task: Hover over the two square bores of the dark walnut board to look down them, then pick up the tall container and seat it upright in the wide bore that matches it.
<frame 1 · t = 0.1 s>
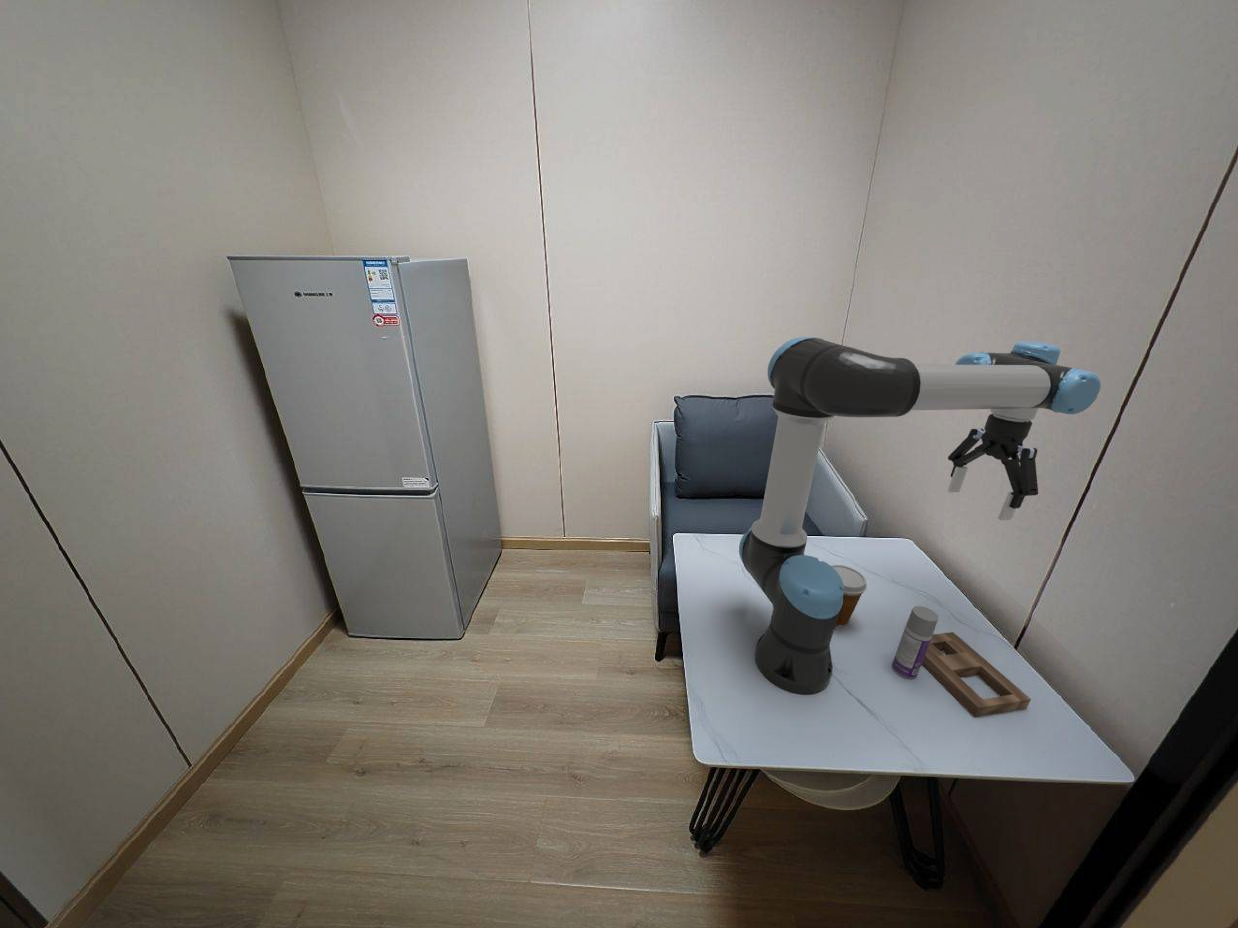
hand: (977, 504, 108), 28 cm above the table, fingers open, 13 cm apart
container: (903, 670, 98), on the table
disposable coffee cup: (833, 617, 112), on the table
socket board: (960, 675, 97), on the table
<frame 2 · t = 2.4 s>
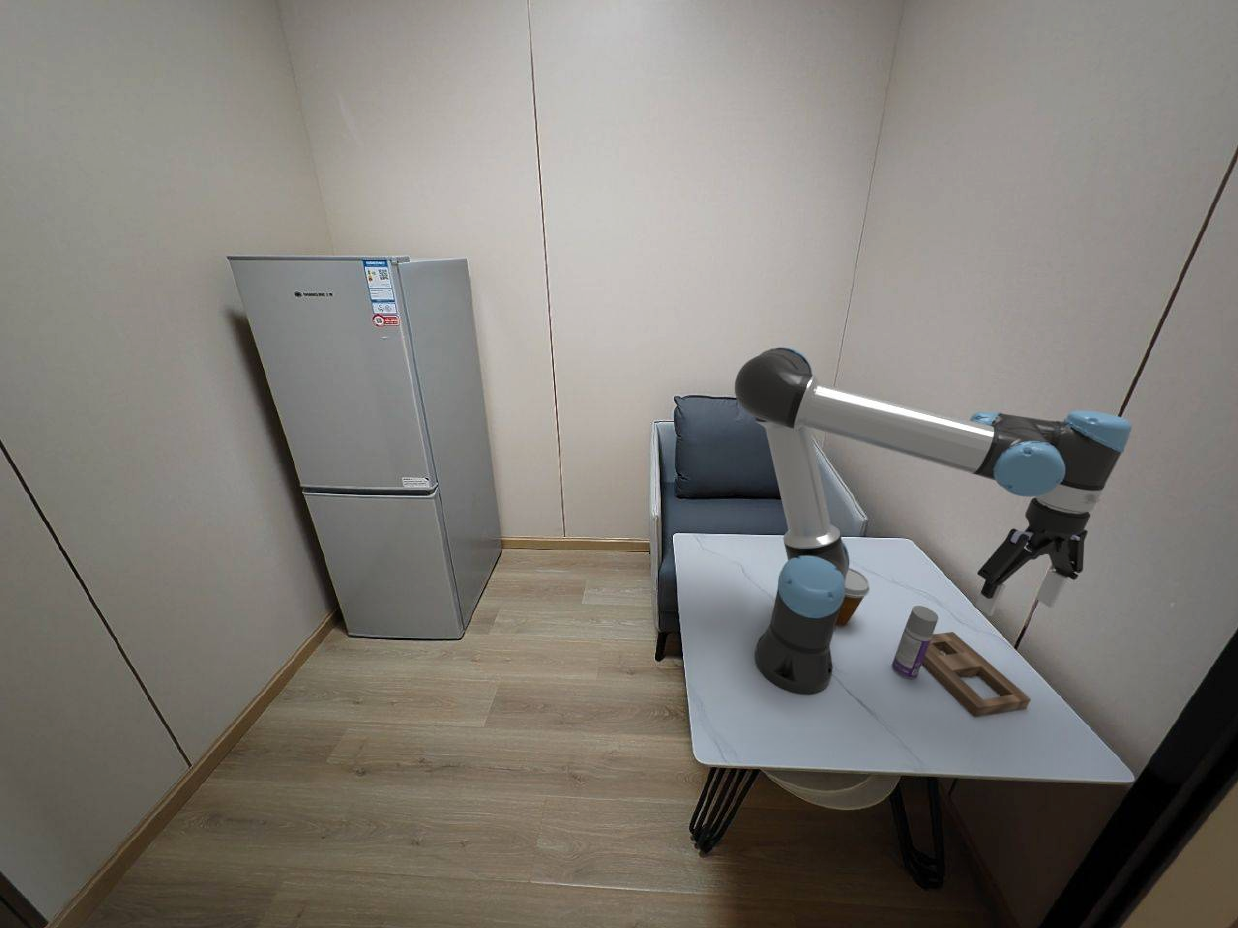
hand: (1014, 606, 86), 21 cm above the table, fingers open, 13 cm apart
disposable coffee cup: (833, 617, 112), on the table, touching arm
everything else where it was.
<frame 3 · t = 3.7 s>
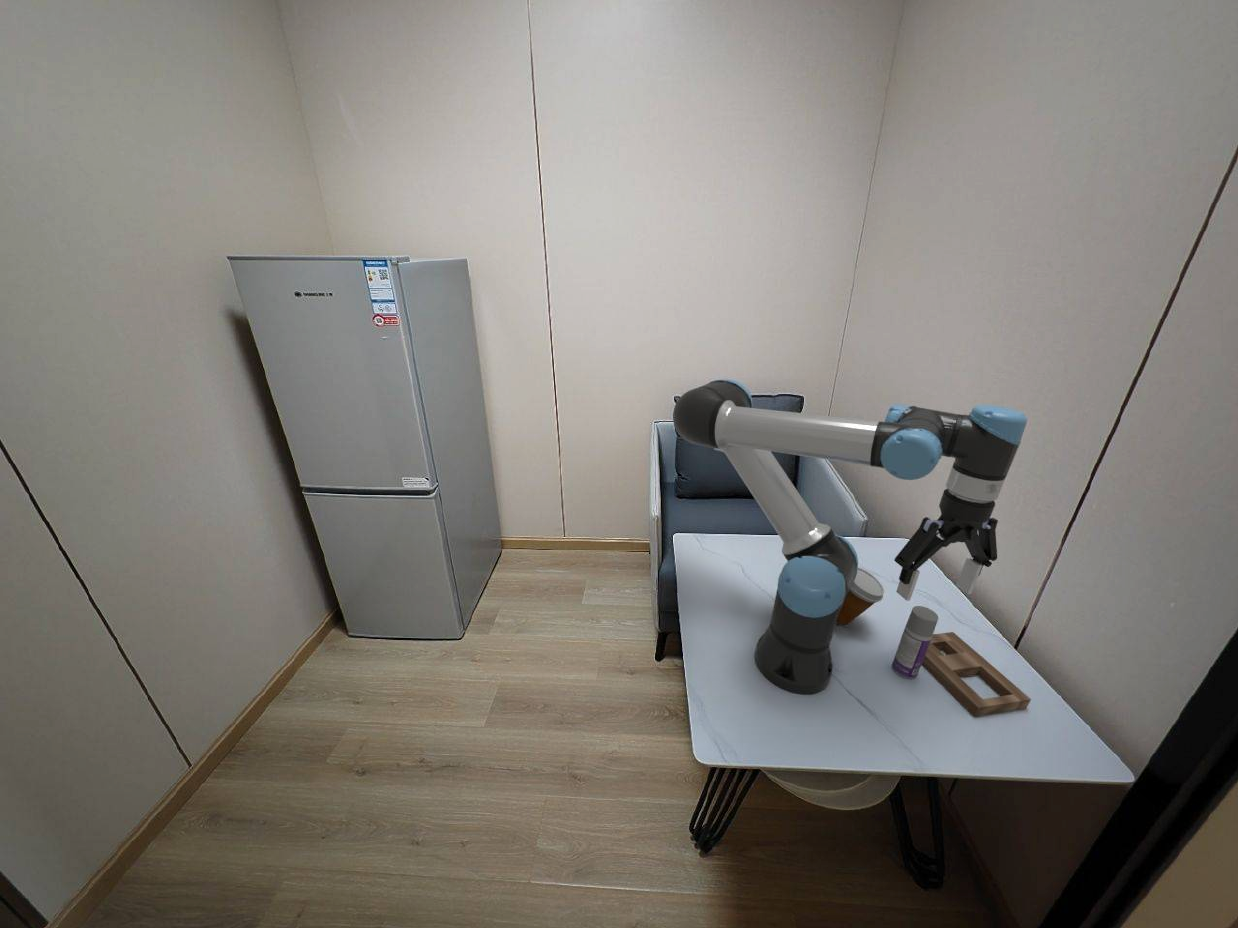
hand: (933, 592, 90), 20 cm above the table, fingers open, 13 cm apart
disposable coffee cup: (835, 615, 112), point 1 cm above the table, touching arm
everything else where it was.
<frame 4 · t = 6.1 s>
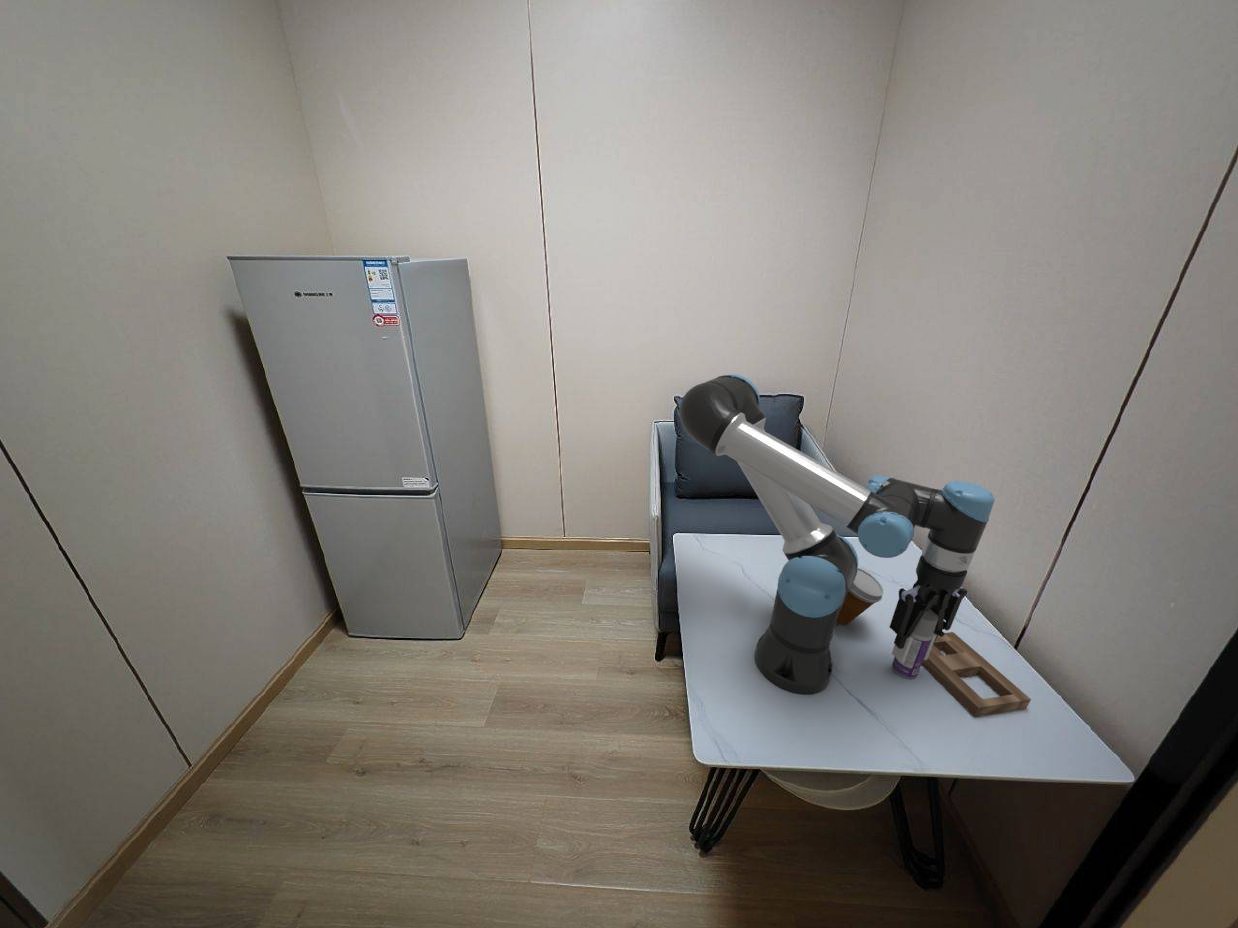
hand: (909, 656, 96), 4 cm above the table, fingers closed on container, 5 cm apart
container: (903, 670, 98), on the table, touching gripper
everything else where it was.
when the fingers open (5 cm above the table, at t = 11.9 s): container stays where it is, resting in socket board.
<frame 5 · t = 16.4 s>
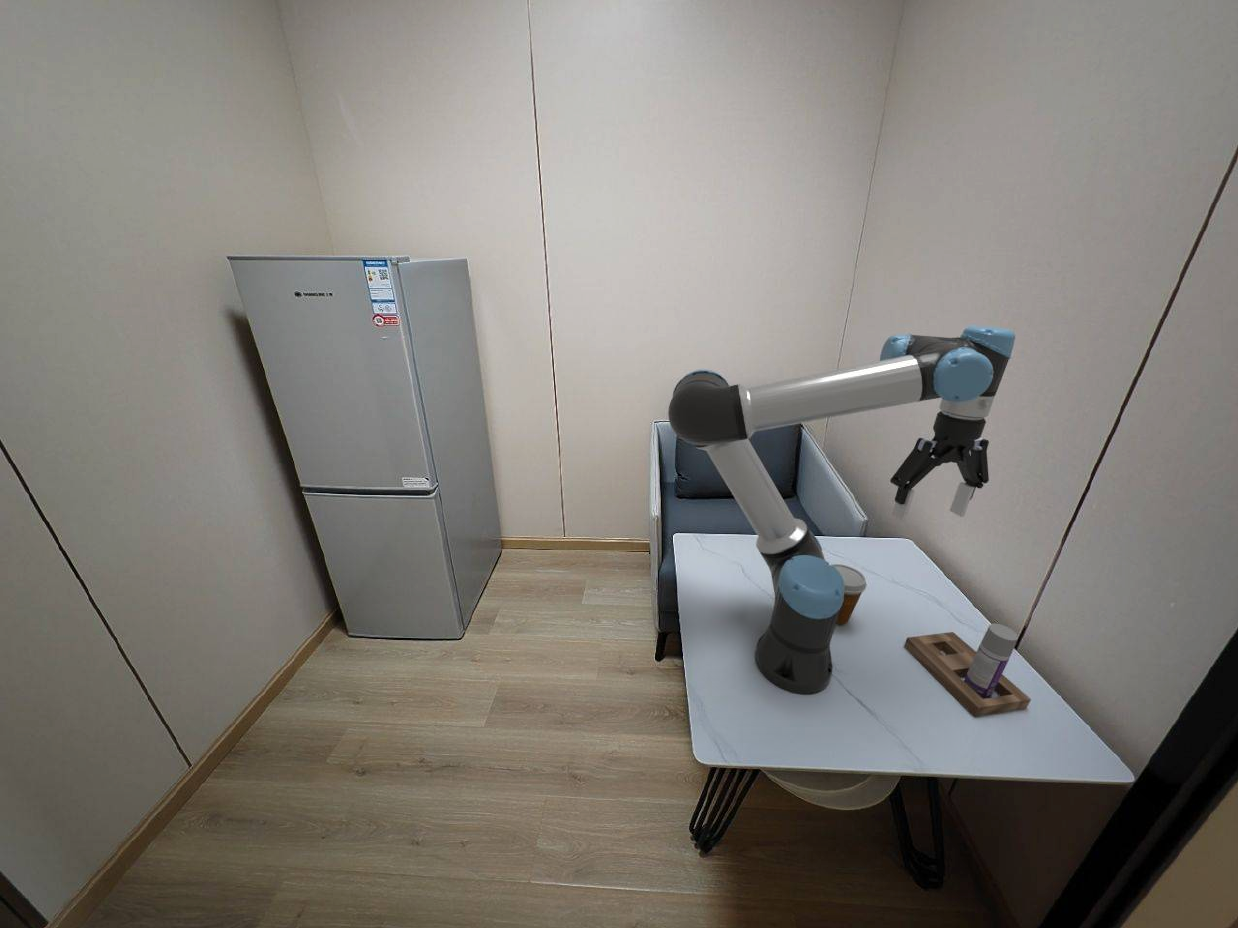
hand: (927, 515, 94), 32 cm above the table, fingers open, 13 cm apart
container: (976, 690, 94), resting in socket board
disposable coffee cup: (834, 616, 112), on the table
at the end: container 0.3 cm from the target spot on the socket board, point 0.0 cm above the socket board's base; container tilted 0°; the gripper is holding nothing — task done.
